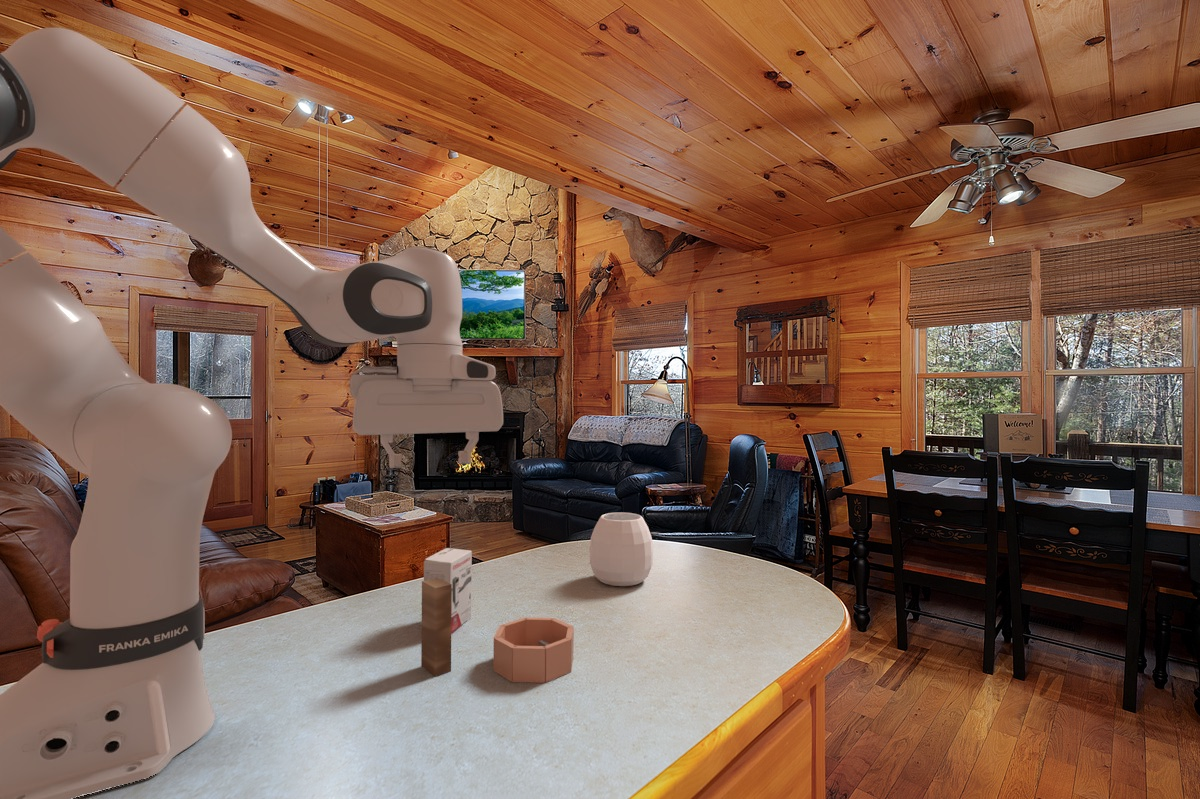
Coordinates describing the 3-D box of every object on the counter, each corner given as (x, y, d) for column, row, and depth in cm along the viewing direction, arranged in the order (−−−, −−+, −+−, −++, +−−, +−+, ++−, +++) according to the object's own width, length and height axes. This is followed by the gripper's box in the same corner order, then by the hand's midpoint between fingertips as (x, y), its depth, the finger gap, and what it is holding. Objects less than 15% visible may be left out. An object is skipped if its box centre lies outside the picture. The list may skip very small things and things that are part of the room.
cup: (655, 592, 113) (655, 523, 113) (588, 591, 113) (588, 522, 113) (650, 571, 126) (650, 510, 126) (590, 571, 127) (590, 510, 127)
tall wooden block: (435, 676, 78) (435, 588, 78) (421, 666, 81) (421, 581, 81) (451, 671, 80) (451, 584, 80) (437, 661, 83) (437, 577, 83)
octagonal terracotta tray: (526, 690, 74) (526, 655, 74) (481, 662, 82) (481, 631, 82) (588, 664, 82) (588, 633, 82) (541, 641, 90) (541, 612, 90)
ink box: (450, 636, 91) (450, 562, 91) (421, 634, 92) (422, 560, 92) (472, 616, 100) (473, 548, 100) (446, 614, 101) (447, 546, 101)
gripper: (350, 364, 74) (351, 472, 74) (506, 367, 83) (506, 464, 83) (348, 366, 79) (349, 467, 79) (494, 369, 88) (495, 459, 88)
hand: (430, 465), depth 81 cm, fingers open, 8 cm apart
